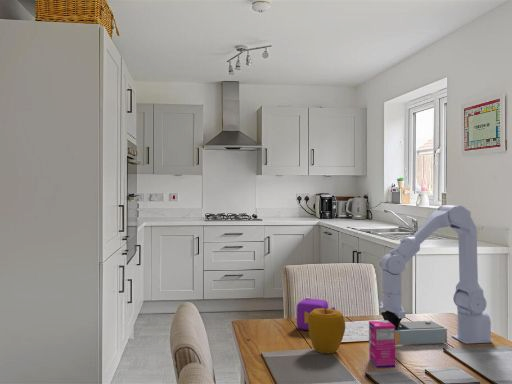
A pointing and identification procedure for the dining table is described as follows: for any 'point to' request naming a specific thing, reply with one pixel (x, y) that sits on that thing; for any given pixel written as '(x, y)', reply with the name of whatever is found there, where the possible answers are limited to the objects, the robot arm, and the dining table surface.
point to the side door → (420, 336)
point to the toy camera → (308, 310)
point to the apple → (326, 329)
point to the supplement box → (382, 344)
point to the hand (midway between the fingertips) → (392, 335)
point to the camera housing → (418, 326)
